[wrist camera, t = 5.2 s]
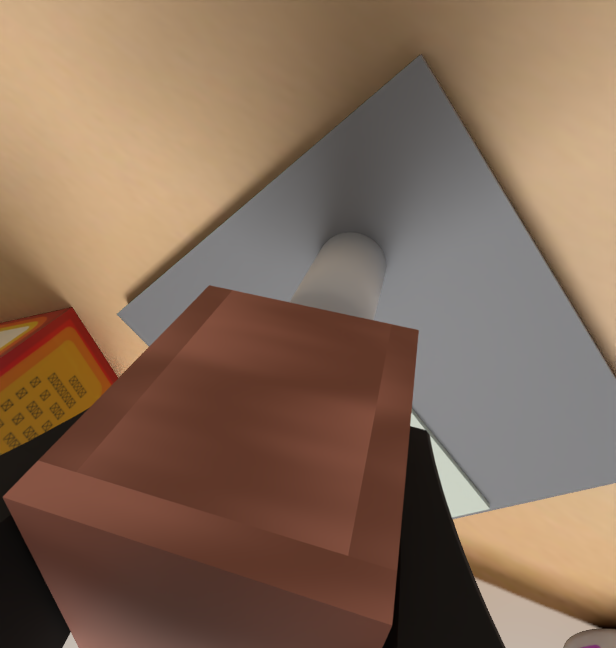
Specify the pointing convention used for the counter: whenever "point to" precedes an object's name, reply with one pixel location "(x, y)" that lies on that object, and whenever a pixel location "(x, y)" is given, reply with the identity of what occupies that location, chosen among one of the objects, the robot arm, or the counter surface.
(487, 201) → the board
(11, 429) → the baking soda box
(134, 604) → the rimmed copper cube
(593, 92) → the counter surface
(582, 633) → the supplement bottle
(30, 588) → the robot arm
